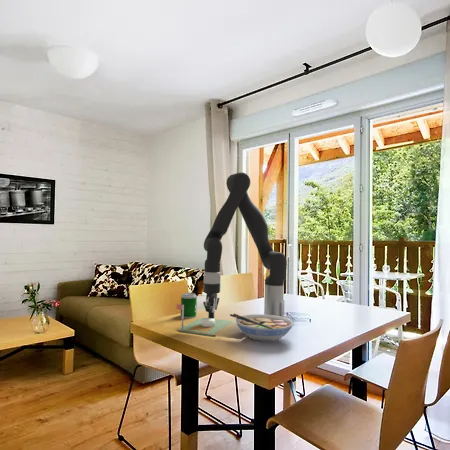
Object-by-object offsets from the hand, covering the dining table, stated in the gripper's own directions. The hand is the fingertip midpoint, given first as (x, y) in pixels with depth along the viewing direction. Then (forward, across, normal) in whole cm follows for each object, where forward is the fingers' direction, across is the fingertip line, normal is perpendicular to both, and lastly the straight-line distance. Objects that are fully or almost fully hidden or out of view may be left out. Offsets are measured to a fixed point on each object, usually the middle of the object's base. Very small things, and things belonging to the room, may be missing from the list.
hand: (211, 320), depth 157 cm
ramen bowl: (+2, -10, -27) cm, 29 cm away
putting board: (+2, -4, 0) cm, 5 cm away
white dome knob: (+1, -5, 0) cm, 5 cm away
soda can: (+2, +7, +15) cm, 17 cm away
